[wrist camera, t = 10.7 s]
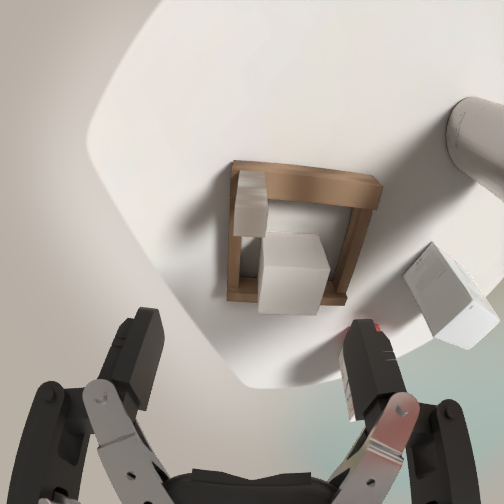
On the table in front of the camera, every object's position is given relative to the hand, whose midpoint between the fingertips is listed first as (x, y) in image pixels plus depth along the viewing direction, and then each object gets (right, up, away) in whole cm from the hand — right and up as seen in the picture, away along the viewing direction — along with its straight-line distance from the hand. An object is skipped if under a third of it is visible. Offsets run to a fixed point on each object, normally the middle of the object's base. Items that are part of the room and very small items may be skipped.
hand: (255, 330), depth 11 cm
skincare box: (+25, 0, +22) cm, 33 cm away
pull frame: (+4, +5, +19) cm, 20 cm away
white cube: (+4, +3, +20) cm, 21 cm away
